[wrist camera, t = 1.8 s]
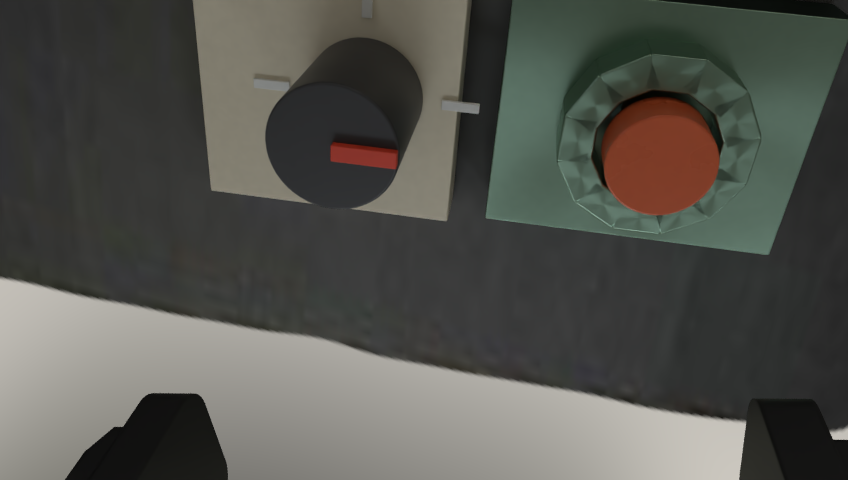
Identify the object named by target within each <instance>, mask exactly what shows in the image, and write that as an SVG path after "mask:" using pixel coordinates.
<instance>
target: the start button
mask: <svg viewBox="0 0 848 480" xmlns="http://www.w3.org/2000/svg"><path fill="white" fill-rule="evenodd" d="M601 154H602V161H603V169H604V176H605V180H606V184H607V186H608V188H609V190H610V192H611V193H612V195H613V196H614V197H615V198H616V199H617V200H618V201H619V202H620V203H621V204H622V205H624V206H626V207H627V208H629V209H631V210H633V211H635V212H639V213H642V214H647V215H667V214H672V213H676V212H679V211H682V210H684V209H686V208H688V207H690V206H692V205H693V204H695V203H696V202H698V201H699V200H700V199H701V198H702V197H703V196H704V195H705V194H706V193H707V192H708V191H709V189H710V188H711V186H712V185H713V183H714V181H715V179H716V176H717V174H718V170H719V163H720V157H719V150H718V146H717V144H716V142H715V139H714V137H713V135H712V133H711V131H710V129H709V127H708V124H707V122H706V121H705V119H704V117H703V116H702V115H701V114H700V112H699V111H698V110H697V109H695V108H694V107H693V106H691V105H690V104H688V103H686V102H684V101H682V100H679V99H676V98H671V97H651V98H646V99H643V100H639V101H637V102H635V103H632V104H631V105H629V106H627V107H626V108H624V109H623V110H622V111H620V112H619V113H618V114H617V115H616V116H615V117H614V118H613V120H612V121H611V122H610V124H609V125H608V127H607V129H606V131H605V133H604V136H603V140H602V146H601Z"/></svg>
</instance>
